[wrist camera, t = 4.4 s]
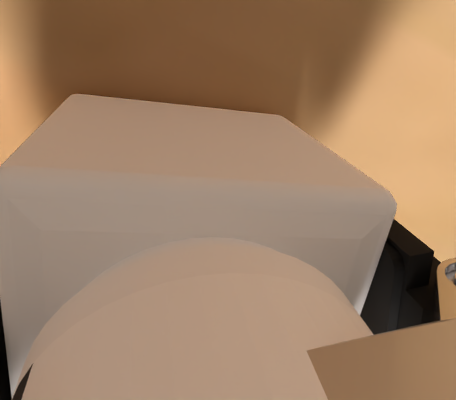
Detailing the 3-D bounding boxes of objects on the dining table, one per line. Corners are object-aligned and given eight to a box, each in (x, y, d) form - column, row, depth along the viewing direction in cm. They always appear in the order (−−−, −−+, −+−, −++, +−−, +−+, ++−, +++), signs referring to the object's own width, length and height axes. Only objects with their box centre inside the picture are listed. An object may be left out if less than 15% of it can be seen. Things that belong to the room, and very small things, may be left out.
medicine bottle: (251, 282, 16) (455, 781, 6) (71, 282, 15) (-126, 989, 4) (285, 113, 13) (819, 472, 3) (66, 90, 12) (-660, 747, 1)
